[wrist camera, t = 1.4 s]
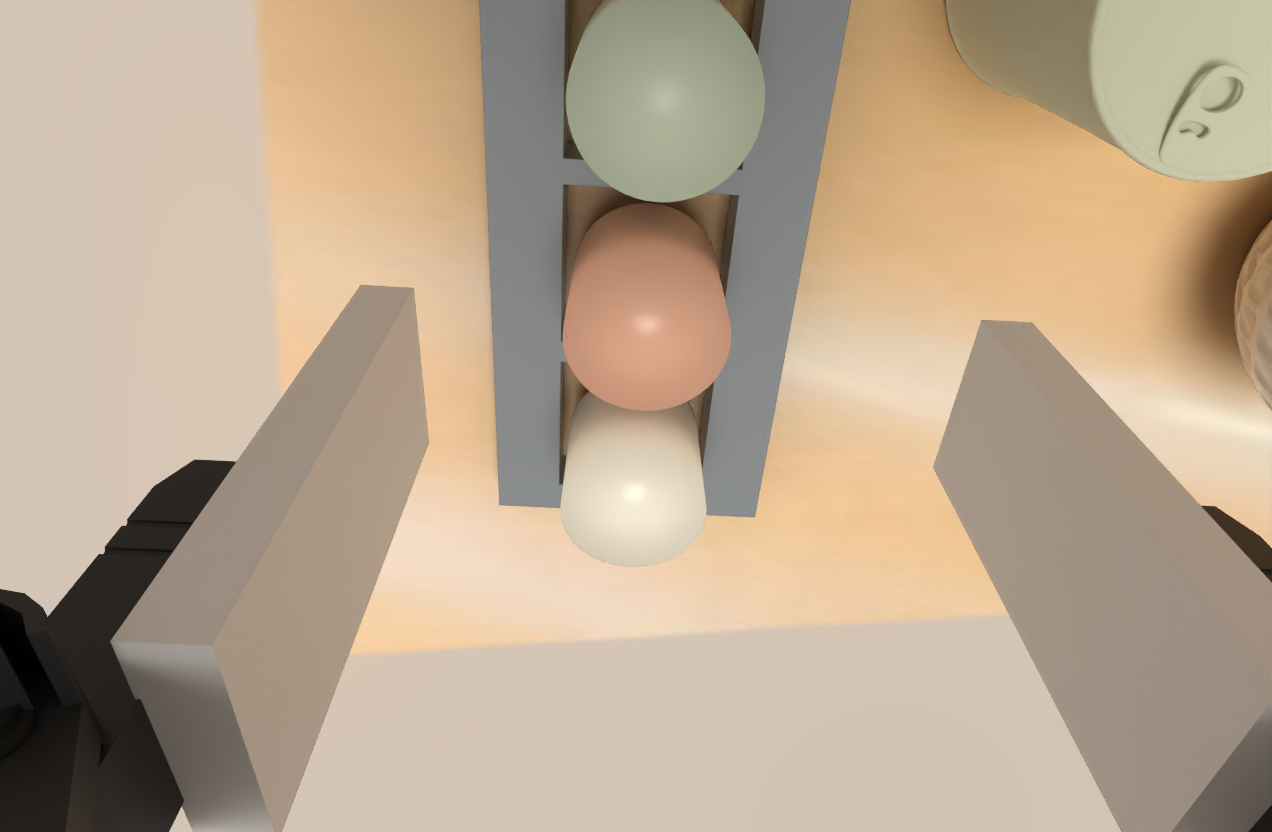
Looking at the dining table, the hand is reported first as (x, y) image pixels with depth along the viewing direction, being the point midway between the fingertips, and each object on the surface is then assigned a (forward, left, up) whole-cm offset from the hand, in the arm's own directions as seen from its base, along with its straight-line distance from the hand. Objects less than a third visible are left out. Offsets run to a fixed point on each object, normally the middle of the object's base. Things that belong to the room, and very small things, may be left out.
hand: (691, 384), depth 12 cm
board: (+7, 0, -23) cm, 24 cm away
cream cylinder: (+15, 0, -21) cm, 26 cm away
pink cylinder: (+7, 0, -21) cm, 22 cm away
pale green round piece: (-1, 0, -21) cm, 21 cm away
